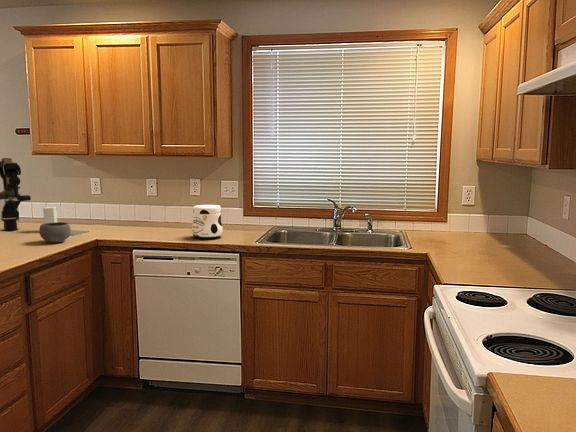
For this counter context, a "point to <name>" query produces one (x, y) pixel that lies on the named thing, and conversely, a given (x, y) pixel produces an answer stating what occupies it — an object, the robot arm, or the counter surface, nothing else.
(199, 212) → the milk container
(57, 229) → the bowl
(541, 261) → the counter surface
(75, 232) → the mat
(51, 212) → the skincare box
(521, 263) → the counter surface
